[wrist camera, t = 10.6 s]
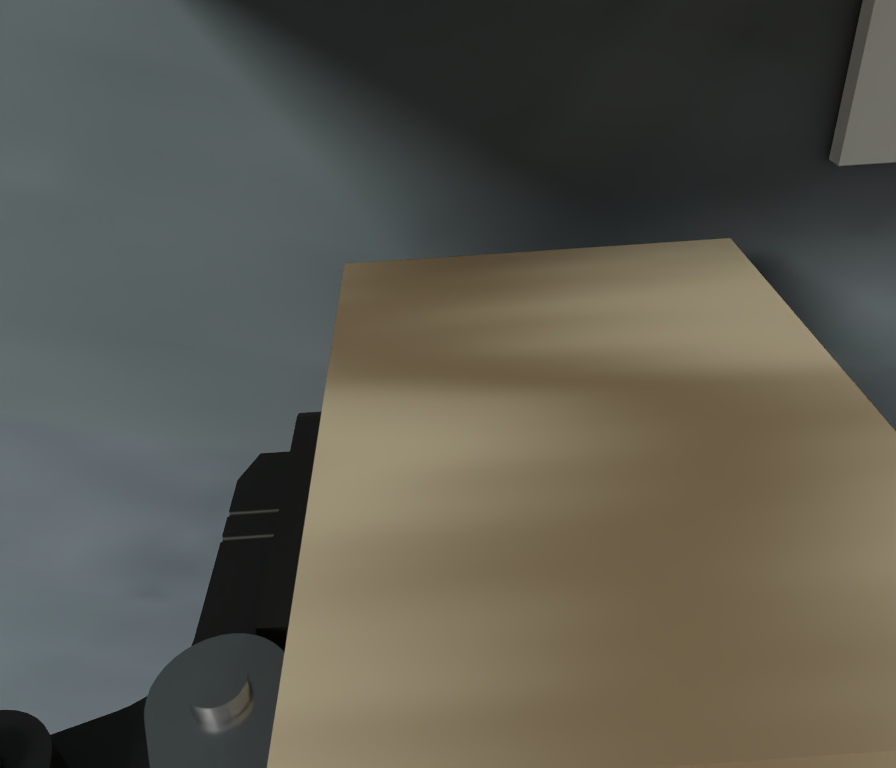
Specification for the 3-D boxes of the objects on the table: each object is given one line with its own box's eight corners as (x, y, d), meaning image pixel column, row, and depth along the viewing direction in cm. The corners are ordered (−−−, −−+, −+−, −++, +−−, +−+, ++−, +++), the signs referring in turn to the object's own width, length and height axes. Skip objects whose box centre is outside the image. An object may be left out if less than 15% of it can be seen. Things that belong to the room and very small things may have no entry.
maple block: (381, 544, 13) (362, 1099, 7) (344, 263, 10) (262, 795, 4) (686, 523, 13) (913, 1059, 7) (731, 237, 10) (1151, 731, 4)
